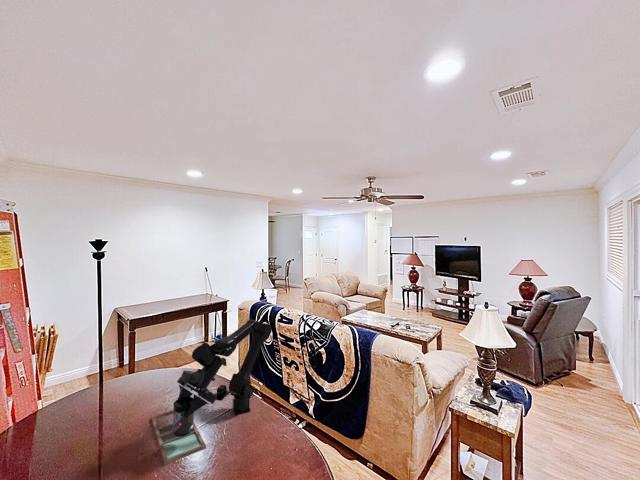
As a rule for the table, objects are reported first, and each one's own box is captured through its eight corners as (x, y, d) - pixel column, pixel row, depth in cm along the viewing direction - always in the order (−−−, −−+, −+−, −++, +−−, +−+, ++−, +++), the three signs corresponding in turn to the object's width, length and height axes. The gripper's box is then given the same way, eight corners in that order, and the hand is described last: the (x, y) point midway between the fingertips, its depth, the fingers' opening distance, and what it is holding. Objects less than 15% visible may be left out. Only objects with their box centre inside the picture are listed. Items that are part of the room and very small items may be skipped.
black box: (221, 404, 129) (221, 393, 129) (207, 402, 131) (207, 392, 131) (234, 390, 141) (234, 381, 142) (221, 389, 143) (221, 379, 143)
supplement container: (175, 426, 103) (176, 397, 103) (195, 424, 104) (196, 395, 105) (169, 438, 96) (170, 407, 97) (190, 436, 98) (191, 406, 98)
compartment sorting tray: (151, 418, 116) (151, 416, 116) (185, 408, 124) (185, 406, 124) (164, 465, 92) (164, 461, 92) (205, 448, 100) (206, 445, 100)
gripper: (182, 355, 110) (151, 395, 101) (209, 367, 99) (176, 414, 90) (201, 368, 116) (173, 407, 107) (228, 382, 105) (199, 427, 96)
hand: (179, 413), depth 100 cm, fingers closed on supplement container, 7 cm apart
